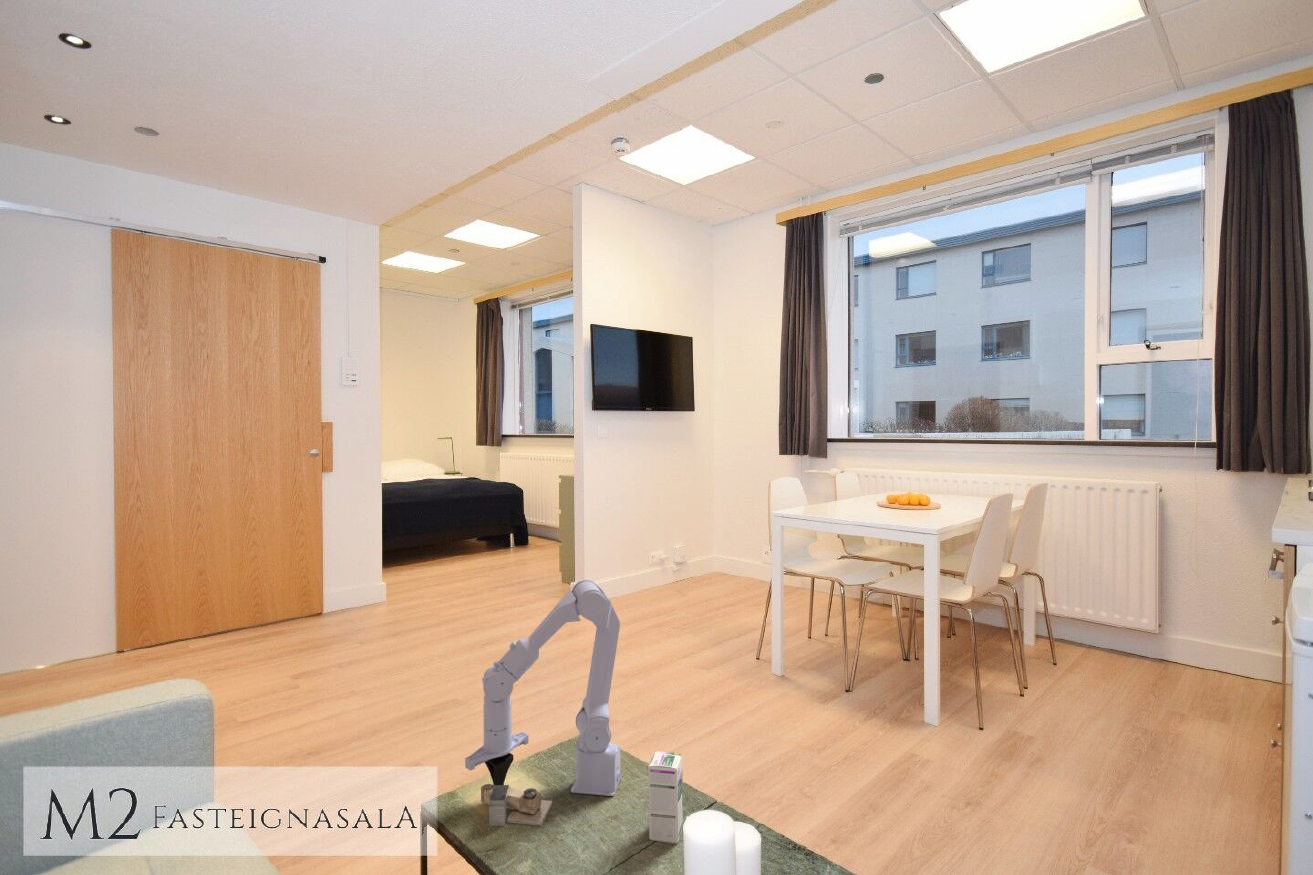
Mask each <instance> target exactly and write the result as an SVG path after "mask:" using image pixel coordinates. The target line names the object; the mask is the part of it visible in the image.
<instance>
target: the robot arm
mask: <svg viewBox="0 0 1313 875" xmlns="http://www.w3.org/2000/svg"><path fill="white" fill-rule="evenodd" d="M580 616H581V617H582V618H585V619H586V620H588V621H589V622H591V623H592V624H593V625H594V626H595V627H596V628H595V635H594V642H593V648H592V656H591V660H590V661H591V662H590V666H589V667H590V669H589V674H588V675H589V676H588V680H587V681H588V682H587V688H586V695H585V697H584V698H583V700H582V702H581V703H582V704H581V708H580V709H579V711H578V713H577V714H576V716H575V726H576V728H577V730H578V731H579V732H578V733H579V736H578V738H577V741H576V744H575V745H576V748H575V749H576V752H575V754H576V758H575V759H576V762H575V763H576V778H575V781H574V783H573V785H572V787H571V788H570V792H571V793H573V794H584V795H593V796H594V795H596V796H604V797H605V796H606V797H613V796H615V794H616V792H617V789H618V787H619V784H620V781H621V778H622V774H621V746H620V745H618V744H615V743H614V744H613V743H612V742H611V739H612V732H611V730H610V729H611V728H610V725H609V723H610V709H609V700H610V692H611V688H612V687H611V686H612V681H613V674H614V667H615V662H616V656H617V655H616V654H617V649H618V648H617V647H618V641H619V637H620V636H619V634H620V630H621V628H620V627H621V621H620V618H619V617H618V614H617V612H616V610H615V608H614V606H613V604H612V601H611V599H610V598H609V597H608V596H607V595H606V594H605V592H604V590H602V588H601V587H600V586H599V585H598V584H596V583H595V582H594V581H592V580H591V579H582V580H579V581H577V582H576V583H575V585H574V586H573V587H572V590H571V589H570V590H568V591H567V592H566V593H565V594H564V595H563V597H562V598H561V599H560V600H559V601H558V603H557V604H556V605H555V606H554V608H552V610H551V611H550V612H549V613H548V614H547V616H546V617H545V618H544V619H542V621H541V623H540V624H539V625H538V626H537V627H536V628H535V629H534V631H533V632H532V633H531V634H530V635H529V636H528V637H523V638H519V639H518V640H517V641H512V642H511V643H510V644H509V649H508V650H507V651H506V653H505V654H504V655H503V656H502V657H501V658H499V660H495V661H494V663H493V665H492V666H490V667H488V669H486V670H485V672H484V674H483V677H482V679H481V681H482V684H483V685H482V686H483V688H482V689H483V693H484V695H483V702H484V703H483V709H482V710H483V745H482V746H481V747H479V748H478V749H477V750H476V751H474V752H473V753H471V754H470V755H469V756H467V757H465V758H464V764H465V765H464V766H465V768H466V769H467V770H469V771H473V770H475V769H476V768H475V767H477V766H479V765H481V764H485V766H486V768H487V769H488V772H489V774H490V777H491V781H492V785H505V781H506V778H507V773H508V771H509V769H510V768H511V765H512V763H513V762H514V754H513V753H511V752H512V751H513V750H515V749H516V748H517V747H520V746H521V745H527V744H529V734H528V733H525V731H524V732H523V731H522V732H520V733H517V734H512V733H513V732H512V728H513V724H512V716H513V715H512V712H513V711H512V710H513V709H512V701H511V695H512V693H513V689H514V684H515V683H516V682H518V681H519V680H520V679H521V678H522V677H523V675H524V674H525V673H526V672H527V671H528V670H529V669H530V668H531V667H532V666H533V664H535V663H536V662H537V660H538V659H539V658H540V649H541V648H542V647H543V646H544V645H545V644H546V643H547V642H549V640H550V639H551V638H553V636H554V635H555V634H556V633H557V632H559V631H560V629H562V628H563V626H564V625H565V624H566V623H575V622H581V621H582V620H581V618H580Z"/></svg>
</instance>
